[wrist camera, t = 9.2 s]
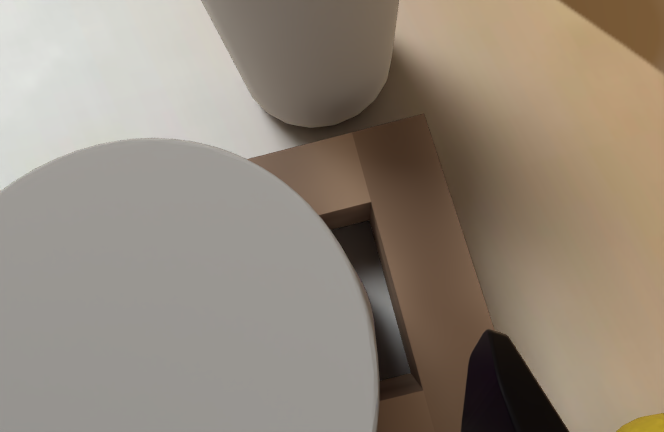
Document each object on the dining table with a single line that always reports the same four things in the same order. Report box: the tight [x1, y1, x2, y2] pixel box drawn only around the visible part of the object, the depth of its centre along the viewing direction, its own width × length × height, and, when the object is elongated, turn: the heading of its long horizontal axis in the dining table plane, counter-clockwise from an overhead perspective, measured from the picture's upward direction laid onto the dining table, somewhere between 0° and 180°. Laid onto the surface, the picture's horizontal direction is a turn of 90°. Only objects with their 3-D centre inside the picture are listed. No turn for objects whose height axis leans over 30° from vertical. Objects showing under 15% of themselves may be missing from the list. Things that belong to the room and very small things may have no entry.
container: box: [0, 138, 380, 432], centre depth 11 cm, size 5×5×15 cm
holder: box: [247, 114, 495, 432], centre depth 16 cm, size 13×13×4 cm
